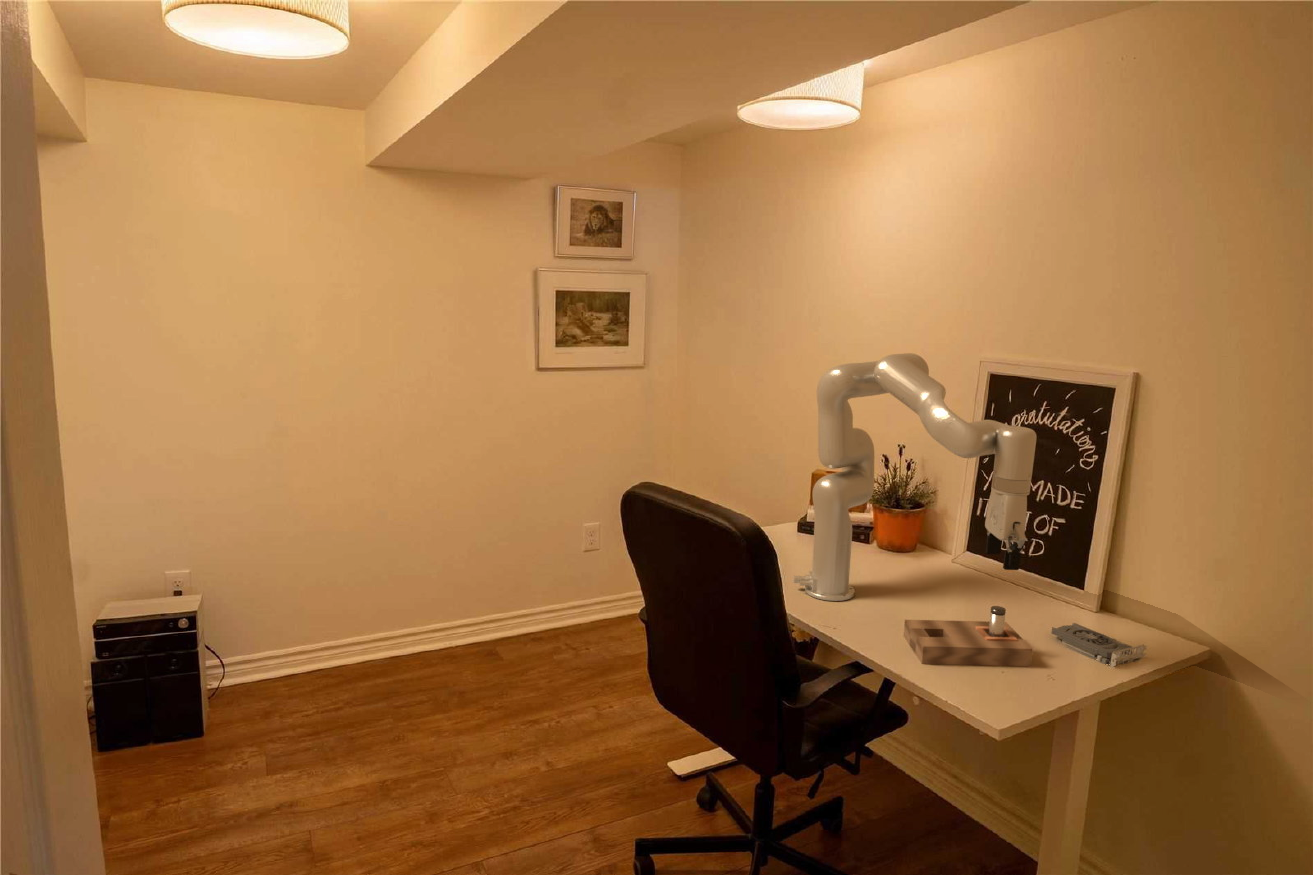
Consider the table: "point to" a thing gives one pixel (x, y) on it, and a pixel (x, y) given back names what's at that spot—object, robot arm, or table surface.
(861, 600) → the table surface
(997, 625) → the lock pin
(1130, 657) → the graphics card
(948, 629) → the pin board
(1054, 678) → the table surface
